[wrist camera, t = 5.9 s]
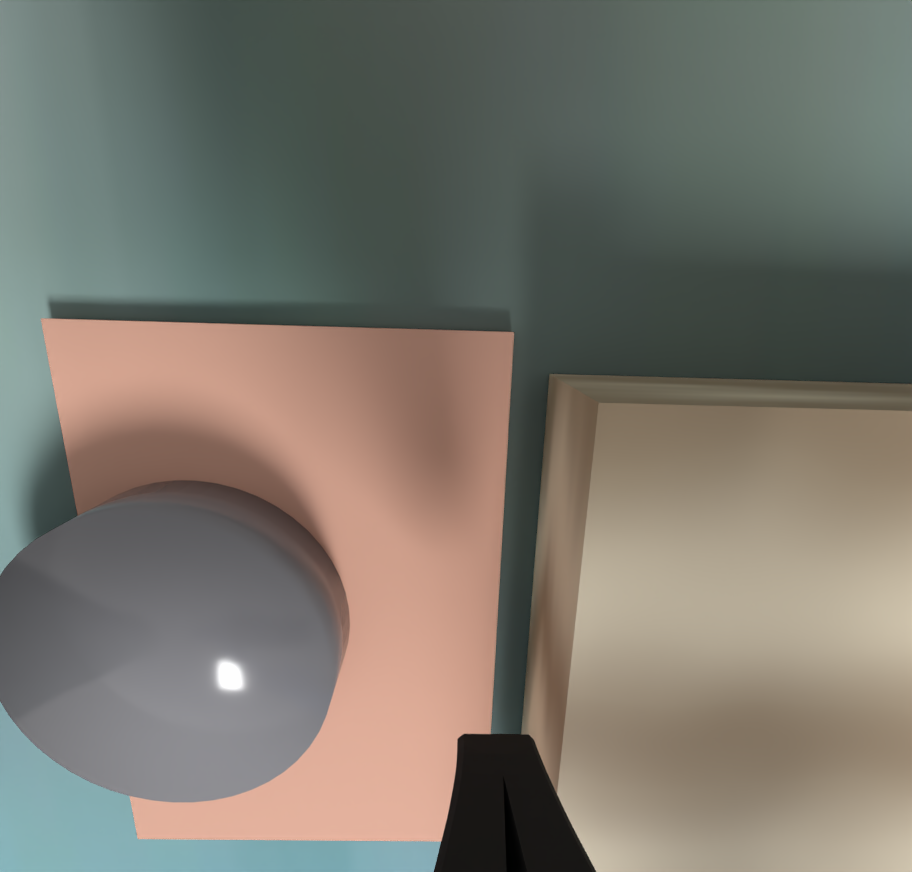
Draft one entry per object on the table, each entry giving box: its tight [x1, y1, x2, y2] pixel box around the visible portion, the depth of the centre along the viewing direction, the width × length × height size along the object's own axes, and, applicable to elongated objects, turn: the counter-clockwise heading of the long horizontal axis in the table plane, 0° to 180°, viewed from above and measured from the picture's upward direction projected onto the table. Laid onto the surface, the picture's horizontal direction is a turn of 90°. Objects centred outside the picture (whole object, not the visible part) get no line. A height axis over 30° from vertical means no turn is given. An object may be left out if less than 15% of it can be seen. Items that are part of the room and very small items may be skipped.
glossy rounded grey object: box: [0, 480, 350, 802], centre depth 12 cm, size 8×8×2 cm
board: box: [521, 374, 912, 872], centre depth 12 cm, size 14×14×4 cm
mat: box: [41, 318, 514, 841], centre depth 13 cm, size 16×11×1 cm
